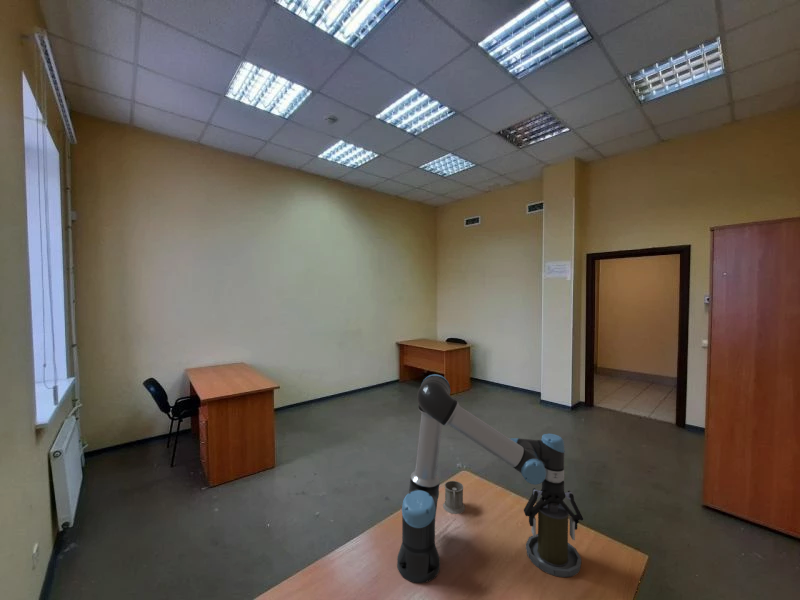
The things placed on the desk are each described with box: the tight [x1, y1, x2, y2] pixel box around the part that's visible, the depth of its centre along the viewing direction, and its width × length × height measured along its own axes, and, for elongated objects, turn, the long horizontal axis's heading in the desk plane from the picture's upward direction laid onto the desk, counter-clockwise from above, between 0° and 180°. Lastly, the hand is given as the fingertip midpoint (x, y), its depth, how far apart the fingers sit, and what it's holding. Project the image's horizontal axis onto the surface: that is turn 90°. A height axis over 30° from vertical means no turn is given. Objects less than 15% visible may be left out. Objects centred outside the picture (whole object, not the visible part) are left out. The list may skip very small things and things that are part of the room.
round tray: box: [525, 533, 582, 578], centre depth 122 cm, size 18×18×2 cm
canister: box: [537, 500, 569, 567], centre depth 121 cm, size 11×10×20 cm
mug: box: [442, 480, 466, 515], centre depth 149 cm, size 14×10×12 cm
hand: (552, 535), depth 122 cm, fingers open, 13 cm apart
